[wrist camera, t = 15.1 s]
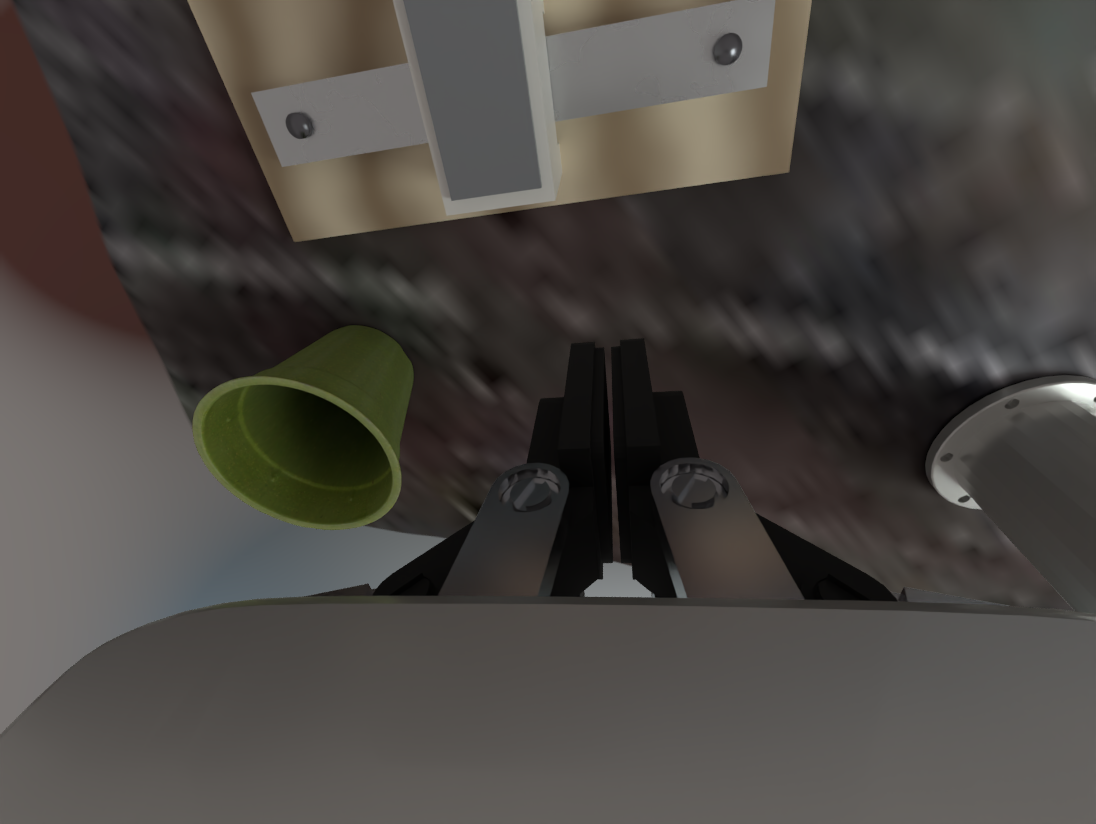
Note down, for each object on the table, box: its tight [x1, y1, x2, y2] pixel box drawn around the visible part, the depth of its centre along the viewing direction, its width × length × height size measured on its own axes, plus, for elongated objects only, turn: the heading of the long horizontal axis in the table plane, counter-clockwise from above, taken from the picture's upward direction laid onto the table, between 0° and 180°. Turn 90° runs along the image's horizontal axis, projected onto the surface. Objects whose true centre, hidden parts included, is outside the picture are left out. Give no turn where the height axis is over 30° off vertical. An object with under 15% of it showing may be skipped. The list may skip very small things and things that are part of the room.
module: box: [393, 0, 562, 216], centre depth 21 cm, size 5×9×8 cm, turn 8°
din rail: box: [251, 0, 775, 167], centre depth 24 cm, size 26×4×2 cm, turn 98°
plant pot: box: [192, 325, 414, 530], centre depth 32 cm, size 12×12×11 cm
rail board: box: [187, 0, 812, 242], centre depth 25 cm, size 30×12×1 cm, turn 98°
